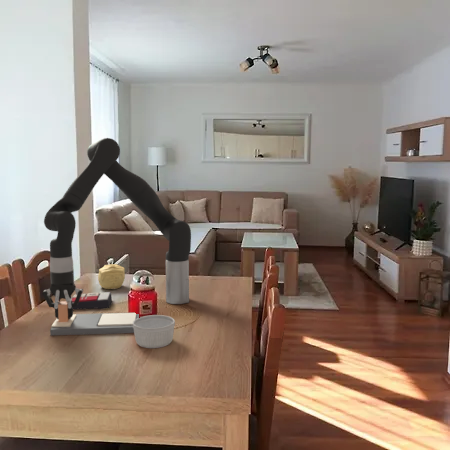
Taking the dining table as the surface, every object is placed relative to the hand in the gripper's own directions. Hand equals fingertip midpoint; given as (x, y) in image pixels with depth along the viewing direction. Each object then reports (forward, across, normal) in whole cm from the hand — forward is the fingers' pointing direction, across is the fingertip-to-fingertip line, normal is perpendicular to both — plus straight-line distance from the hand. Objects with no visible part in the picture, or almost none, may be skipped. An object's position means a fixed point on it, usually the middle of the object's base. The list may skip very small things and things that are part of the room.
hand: (64, 318), depth 175 cm
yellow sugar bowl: (+4, -10, -52) cm, 53 cm away
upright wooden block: (+1, 0, 0) cm, 1 cm away
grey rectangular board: (+3, -11, 0) cm, 12 cm away
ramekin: (+4, -31, +17) cm, 36 cm away
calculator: (+4, -5, -26) cm, 27 cm away
